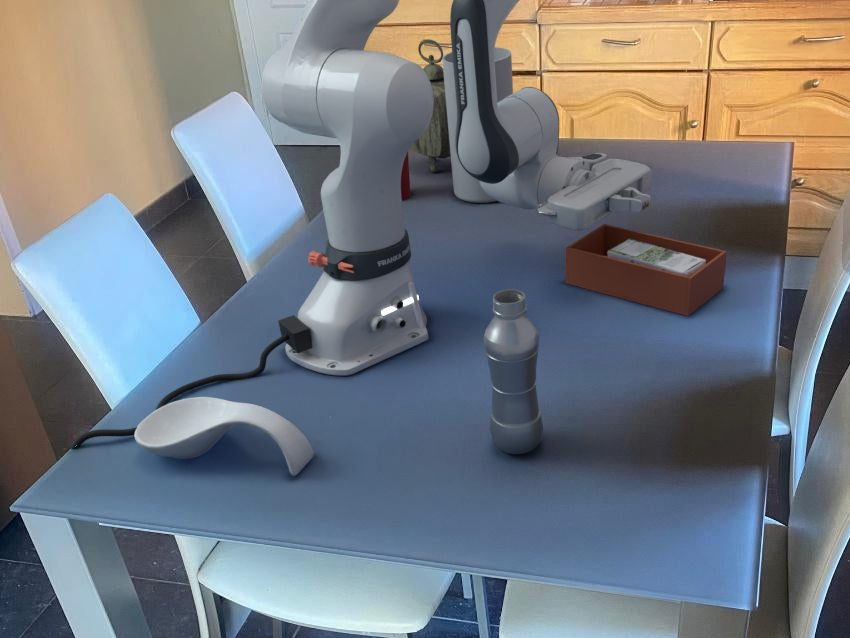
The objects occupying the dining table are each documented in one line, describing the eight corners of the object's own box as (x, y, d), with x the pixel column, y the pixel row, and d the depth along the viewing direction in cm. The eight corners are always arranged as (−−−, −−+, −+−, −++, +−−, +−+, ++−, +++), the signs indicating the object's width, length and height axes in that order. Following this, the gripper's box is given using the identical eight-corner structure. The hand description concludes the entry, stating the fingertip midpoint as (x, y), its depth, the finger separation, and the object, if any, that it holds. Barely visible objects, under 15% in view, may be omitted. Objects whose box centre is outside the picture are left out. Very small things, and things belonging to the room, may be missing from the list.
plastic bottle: (505, 467, 112) (495, 315, 99) (482, 439, 117) (470, 292, 104) (553, 451, 114) (549, 301, 101) (528, 424, 119) (522, 278, 106)
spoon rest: (123, 463, 119) (105, 416, 114) (178, 414, 127) (163, 368, 122) (283, 495, 111) (270, 445, 106) (330, 441, 119) (320, 393, 115)
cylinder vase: (496, 208, 177) (488, 66, 161) (442, 199, 183) (428, 61, 167) (528, 185, 185) (523, 49, 169) (475, 178, 191) (466, 45, 175)
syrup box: (606, 284, 147) (683, 309, 139) (606, 248, 143) (685, 273, 135) (628, 270, 150) (704, 295, 142) (629, 235, 146) (707, 258, 138)
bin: (723, 287, 144) (727, 251, 140) (687, 316, 138) (690, 278, 134) (603, 258, 156) (603, 223, 152) (565, 283, 150) (565, 247, 146)
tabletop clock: (480, 169, 194) (470, 38, 179) (448, 182, 190) (436, 49, 174) (433, 157, 203) (420, 31, 187) (402, 169, 198) (386, 41, 183)
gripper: (528, 190, 138) (607, 206, 131) (604, 149, 150) (681, 162, 143) (530, 231, 142) (607, 249, 135) (604, 188, 154) (678, 202, 147)
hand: (645, 204), depth 139 cm, fingers closed
